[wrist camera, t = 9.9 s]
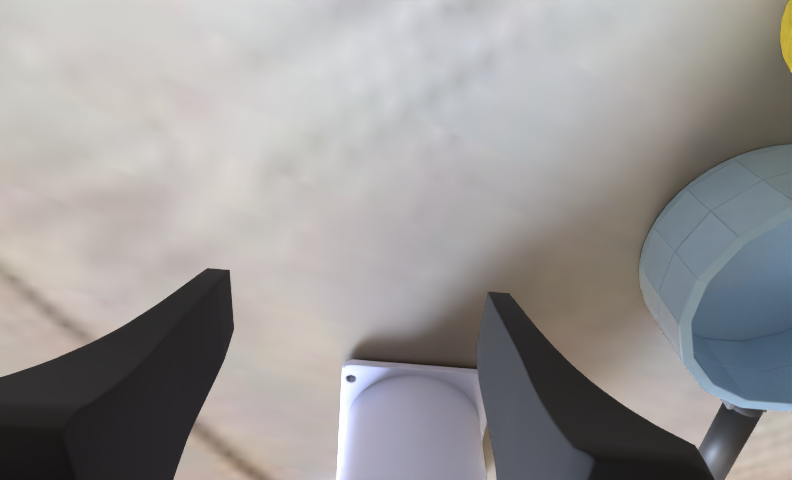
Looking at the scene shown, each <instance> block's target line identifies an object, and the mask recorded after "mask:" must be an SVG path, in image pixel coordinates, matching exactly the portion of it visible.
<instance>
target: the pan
mask: <svg viewBox="0 0 792 480" xmlns="http://www.w3.org/2000/svg"><path fill="white" fill-rule="evenodd" d="M639 282H640V287H641V292H642V295H643V297H644V302H645V305H646V306H647V308H648V310H649V311H650V313H651V314H652V316H653V318H654V319H655V321H656V322H657V324H658V325H659V327H660V329H661V330H662V331H663V333H664V335H665V336H666V338H667V340H668V341H669V343H670V344H671V346H672V347H673V349H674V351H675V352H676V354H677V355H678V357H679V358H680V360H681V362H682V363H683V364H684V366H685V367H686V368H687V370H688V371H689V372H690V373H691V375H692V376H693V377H694V379H695V380H696V381H697V383H698V384H699V385H700V386H701V388H702V389H703V390H704V391H706V392H708V393H710V394H712V395H714V396H717V397H719V398H721V399H723V400H725V401H728V402H730V403H732V404H734V405H736V406H738V407H742V408H749V409H762V410H775V411H792V144H787V145H777V146H770V147H766V148H761V149H756V150H753V151H750V152H747V153H744V154H741V155H738V156H736V157H733V158H731V159H729V160H727V161H724V162H722V163H720V164H718V165H717V166H715V167H713V168H711V169H710V170H708V171H706V172H705V173H703V174H702V175H700V176H699V177H697V178H696V179H695V180H693V181H692V182H691V183H689V184H688V185H687V186H686V187H685V188H684V189H682V190H681V191H680V192H679V193H678V194H677V195H676V196H675V197H674V198H673V199H672V200H671V201H670V202H669V203H668V204H667V206H666V207H665V208H664V210H663V211H662V212H661V213H660V215H659V216H658V217H657V219H656V221H655V222H654V224H653V226H652V228H651V229H650V231H649V233H648V236H647V238H646V240H645V243H644V246H643V249H642V253H641V256H640V264H639Z"/></svg>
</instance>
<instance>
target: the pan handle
mask: <svg viewBox="0 0 792 480" xmlns="http://www.w3.org/2000/svg"><path fill="white" fill-rule="evenodd" d="M720 399H721V398H720ZM721 400H722V402H723V403H722V405H721V407H720V409H719V411H718V413H717V415H716V417H715V418H714V420H713V422H712V424H711V426H710V428H709V430H708V432H707V434H706V436H705V438H704V440H703V442H702V443H701V445H700V447H699V449H698V451H699V452H700V454H701V456H702V457H703V459H704V460H705V462H706V464H707V466H708V468H709V469H710V471H711V473H712V475H713V477H714V479H715V480H725V478H726V476H727V474H728V473H729V471H730V469H731V467H732V466H733V464H734V462H735V460H736V459H737V457H738V455H739V454H740V452H741V450H742V448H743V447H744V445H745V443H746V441H747V440H748V438H749V436H750V434H751V433H752V431H753V429H754V428H755V426H756V424H757V422H758V421H759V419H760V417H761V415H762V413H763V412H766V411H767V410H762V409H749V408H742V407H738V406H736V405H734V404H732V403H730V402H728V401H725V400H723V399H721Z"/></svg>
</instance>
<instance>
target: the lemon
mask: <svg viewBox="0 0 792 480" xmlns="http://www.w3.org/2000/svg"><path fill="white" fill-rule="evenodd" d="M780 42H781V48H782V53H783V58H784V60H785V62H786V64H787V66H788V67H789V69H790V71H791V73H792V0H788V2H787V5H786V8H785V11H784V14H783V17H782V22H781V32H780Z"/></svg>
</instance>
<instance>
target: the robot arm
mask: <svg viewBox="0 0 792 480" xmlns="http://www.w3.org/2000/svg"><path fill="white" fill-rule="evenodd" d="M233 330H234V322H233V309H232V296H231V283H230V270H222V269H210V268H207V269H206V270H204V271H203V272H201V273H200V274H199V275H197V276H196V277H195V278H193V279H192V280H190V281H189V282H188V283H186V284H185V285H184V286H182V287H181V288H180V289H178V290H177V291H175V292H174V293H173V294H171V295H170V296H168V297H167V298H166V299H164V300H163V301H161V302H160V303H159V304H157V305H156V306H154V307H152V308H151V309H149V310H148V311H146V312H145V313H143V314H142V315H140V316H138V317H137V318H135V319H134V320H132V321H131V322H129V323H127V324H126V325H124V326H122V327H120V328H119V329H117V330H115V331H113V332H111V333H109V334H108V335H106V336H104V337H102V338H100V339H98V340H96V341H94V342H92V343H90V344H88V345H85V346H83V347H81V348H78V349H76V350H74V351H72V352H69V353H67V354H65V355H62V356H60V357H58V358H55V359H53V360H50V361H48V362H45V363H42V364H40V365H37V366H34V367H31V368H28V369H25V370H22V371H19V372H16V373H13V374H10V375H7V376H4V377H0V480H173V479H174V476H175V473H176V470H177V467H178V464H179V461H180V458H181V455H182V453H183V450H184V447H185V444H186V441H187V439H188V436H189V434H190V432H191V429H192V427H193V425H194V422H195V420H196V418H197V416H198V414H199V412H200V410H201V408H202V406H203V404H204V402H205V400H206V397H207V395H208V393H209V391H210V389H211V387H212V385H213V383H214V381H215V379H216V377H217V374H218V372H219V370H220V368H221V366H222V364H223V361H224V359H225V356H226V353H227V350H228V347H229V344H230V340H231V337H232V334H233ZM476 355H477V369H467V368H454V367H442V366H429V365H417V364H404V363H392V362H379V361H367V360H354V359H351V360H347V361H345V362H344V363H343V367H342V380H341V401H340V421H339V442H338V462H337V480H487V474H486V467H485V460H484V453H483V446H482V441H483V437H484V433H485V428H486V424H488V429H489V434H490V438H491V443H492V448H493V454H494V460H495V467H496V477H497V480H715V479H714V477H713V475H712V473H711V471H710V469H709V468H708V466H707V464H706V462H705V460H704V459H703V457H702V456H701V454H700V452H699V451H698V449H697V448H696V446H695V445H693V444H691V443H689V442H687V441H685V440H683V439H681V438H679V437H677V436H675V435H673V434H671V433H669V432H668V431H666V430H664V429H662V428H660V427H658V426H656V425H654V424H653V423H651V422H649V421H648V420H646V419H644V418H643V417H641V416H639V415H638V414H636V413H635V412H633V411H631V410H630V409H628V408H627V407H625V406H624V405H622V404H621V403H619V402H618V401H617V400H615V399H614V398H612V397H611V396H610V395H608V394H607V393H605V392H604V391H603V390H601V389H600V388H599V387H598V386H596V385H595V384H594V383H592V382H591V381H590V380H589V379H588V378H587V377H585V376H584V375H583V374H582V373H581V372H580V371H578V370H577V369H576V368H575V367H574V366H573V365H572V364H571V363H570V362H569V361H568V360H567V359H566V358H565V357H564V356H563V355H562V354H561V353H560V352H559V351H558V350H557V349H556V348H555V347H554V346H553V345H552V344H551V343H550V342H549V341H548V340H547V339H546V338H545V336H544V335H543V334H542V333H541V332H540V331H539V330H538V328H537V327H536V326H535V325H534V324H533V322H532V321H531V320H530V319H529V317H528V316H527V315H526V314H525V313H524V311H523V310H522V309H521V307H520V306H519V305H518V304H517V302H516V301H515V300H514V299H513V297H512V296H511V295H510V294H509V293H498V292H487V297H486V302H485V307H484V312H483V317H482V322H481V327H480V332H479V337H478V341H477V346H476ZM348 375H354V376H355V377H350V376H348Z"/></svg>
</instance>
